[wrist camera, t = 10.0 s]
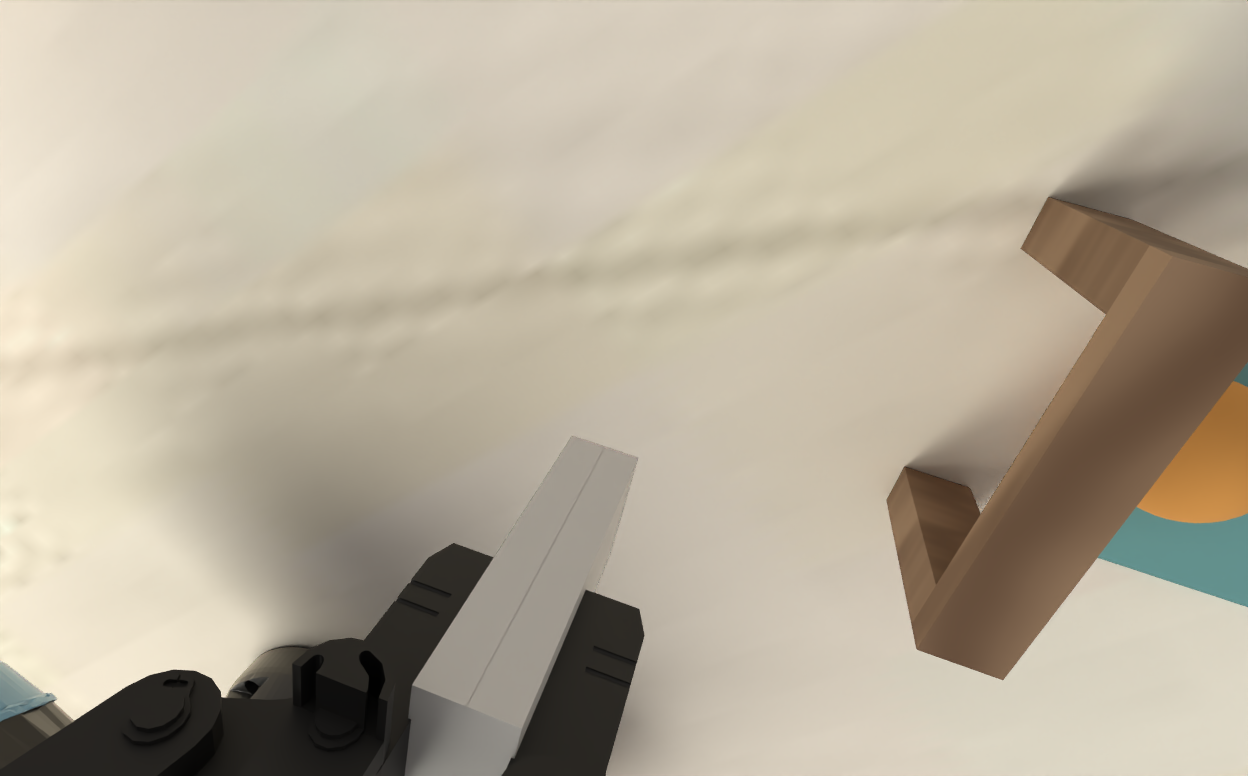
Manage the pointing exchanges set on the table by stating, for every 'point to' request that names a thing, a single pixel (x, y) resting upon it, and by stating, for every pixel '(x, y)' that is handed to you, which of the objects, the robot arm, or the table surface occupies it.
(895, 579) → the table surface
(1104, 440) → the bridge
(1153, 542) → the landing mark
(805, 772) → the table surface
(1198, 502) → the ball
